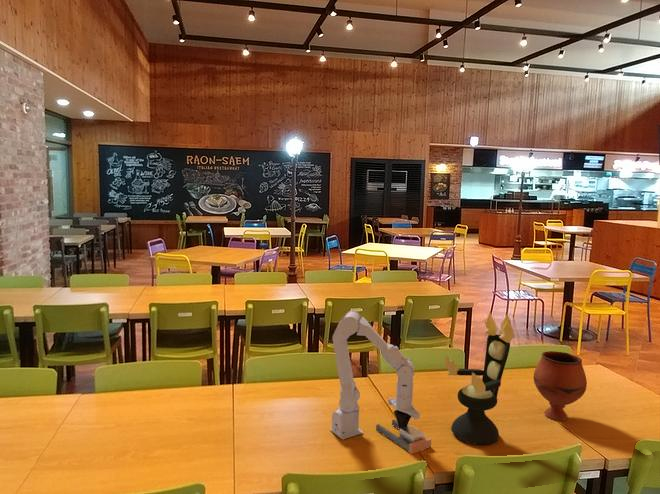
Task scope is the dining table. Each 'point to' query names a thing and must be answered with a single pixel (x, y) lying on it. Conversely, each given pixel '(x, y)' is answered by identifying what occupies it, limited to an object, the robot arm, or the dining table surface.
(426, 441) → the guide rails
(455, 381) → the dining table surface
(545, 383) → the goblet
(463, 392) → the spiked throne chair
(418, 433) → the lock block
